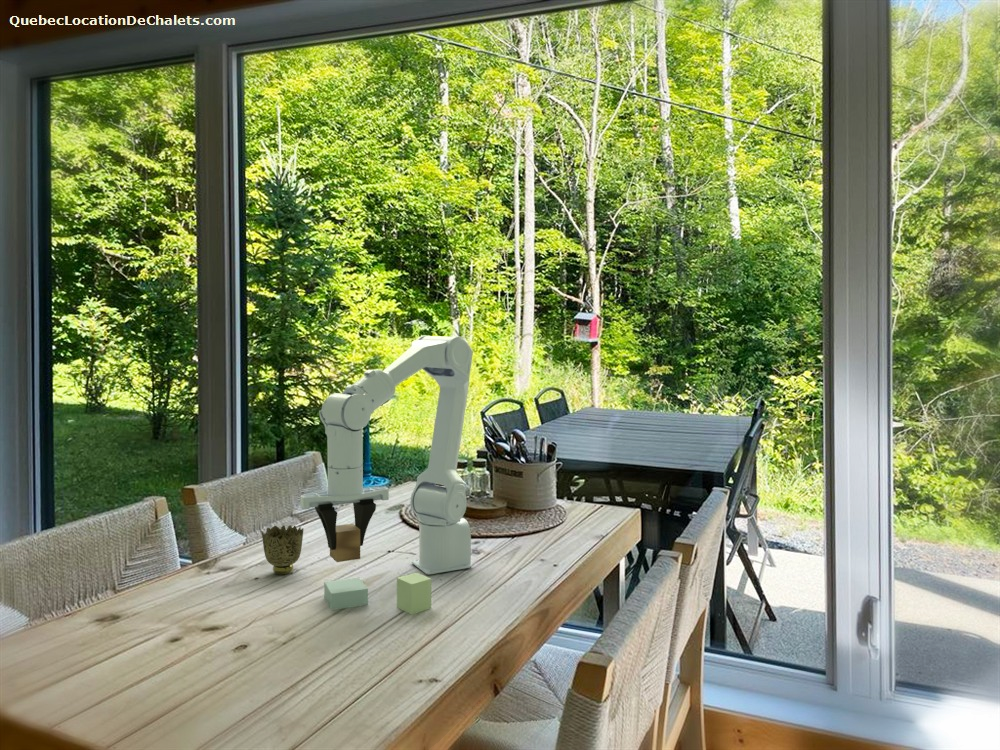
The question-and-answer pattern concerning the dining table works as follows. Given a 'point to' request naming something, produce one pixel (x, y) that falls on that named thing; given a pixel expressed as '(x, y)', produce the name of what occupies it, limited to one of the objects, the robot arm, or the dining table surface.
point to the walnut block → (346, 543)
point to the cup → (282, 547)
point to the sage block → (413, 593)
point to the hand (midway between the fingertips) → (345, 546)
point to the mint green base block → (345, 593)
